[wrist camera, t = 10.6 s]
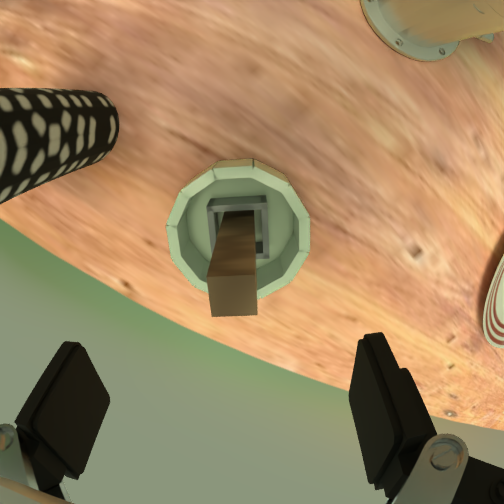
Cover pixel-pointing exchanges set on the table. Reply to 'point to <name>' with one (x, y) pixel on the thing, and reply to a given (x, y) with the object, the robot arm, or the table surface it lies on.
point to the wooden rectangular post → (234, 267)
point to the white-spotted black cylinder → (51, 135)
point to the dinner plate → (495, 309)
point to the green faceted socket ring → (237, 199)
